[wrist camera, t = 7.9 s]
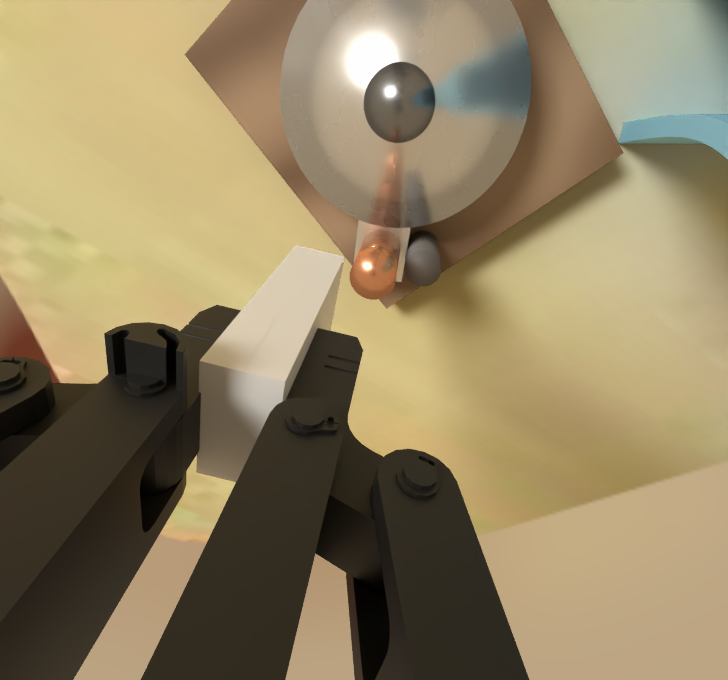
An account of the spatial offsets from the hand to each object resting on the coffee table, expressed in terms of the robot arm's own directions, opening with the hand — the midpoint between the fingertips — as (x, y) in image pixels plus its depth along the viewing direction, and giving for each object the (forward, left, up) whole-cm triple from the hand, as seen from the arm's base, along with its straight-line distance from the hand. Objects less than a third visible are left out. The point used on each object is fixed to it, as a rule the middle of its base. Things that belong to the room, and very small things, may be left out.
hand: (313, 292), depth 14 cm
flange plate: (-2, +4, -9) cm, 10 cm away
